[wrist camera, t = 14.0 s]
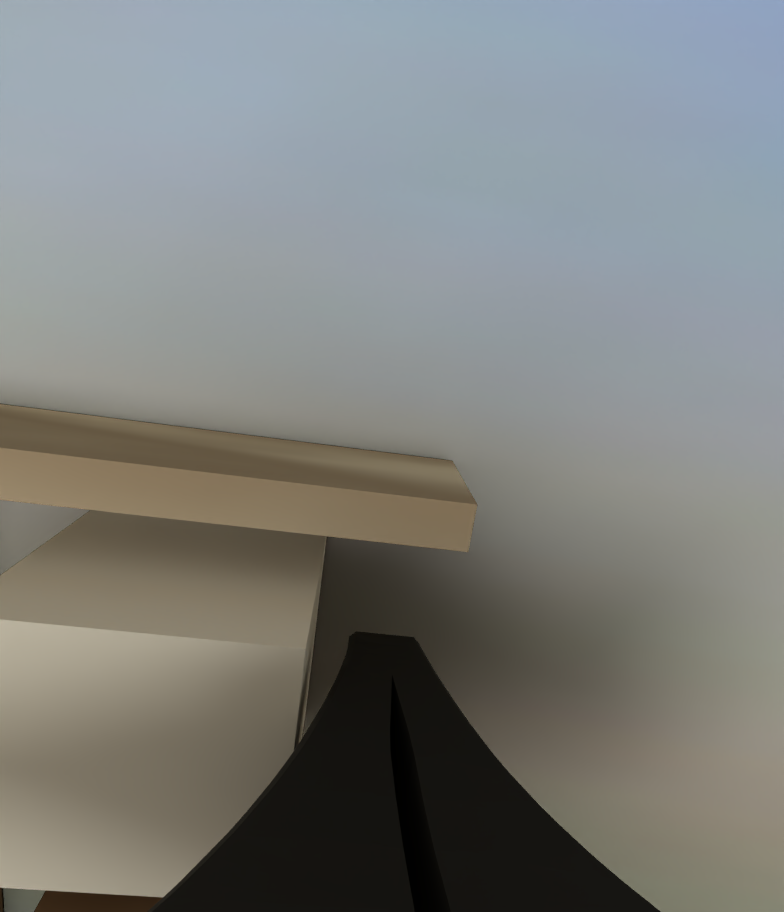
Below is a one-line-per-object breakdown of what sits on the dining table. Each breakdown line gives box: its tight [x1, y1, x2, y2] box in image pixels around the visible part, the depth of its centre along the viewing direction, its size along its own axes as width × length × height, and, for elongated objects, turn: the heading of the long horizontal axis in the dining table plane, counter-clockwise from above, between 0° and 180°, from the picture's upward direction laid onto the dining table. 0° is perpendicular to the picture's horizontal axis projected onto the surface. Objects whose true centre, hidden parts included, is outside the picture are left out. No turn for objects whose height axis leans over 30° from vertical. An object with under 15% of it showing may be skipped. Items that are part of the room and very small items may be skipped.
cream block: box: [0, 510, 327, 897], centre depth 9 cm, size 4×4×4 cm
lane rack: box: [0, 404, 477, 912], centre depth 11 cm, size 15×10×3 cm, turn 172°
